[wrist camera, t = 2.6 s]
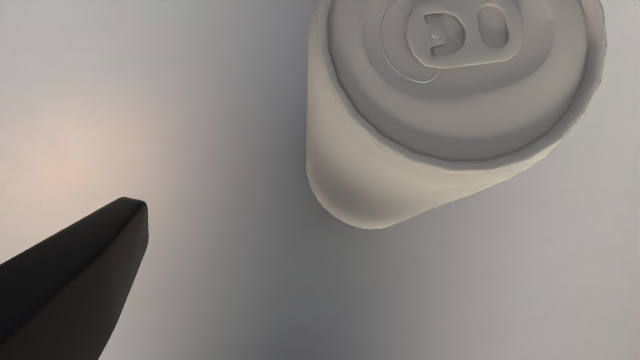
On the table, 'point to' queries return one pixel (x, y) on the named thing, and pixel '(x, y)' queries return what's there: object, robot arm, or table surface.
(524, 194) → the table surface
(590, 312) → the table surface
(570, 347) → the table surface
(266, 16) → the table surface
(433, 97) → the beverage can
